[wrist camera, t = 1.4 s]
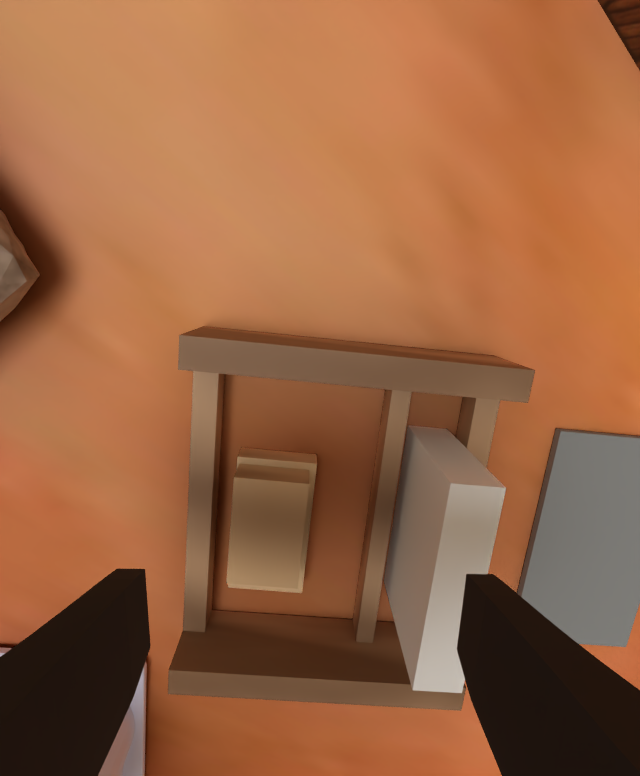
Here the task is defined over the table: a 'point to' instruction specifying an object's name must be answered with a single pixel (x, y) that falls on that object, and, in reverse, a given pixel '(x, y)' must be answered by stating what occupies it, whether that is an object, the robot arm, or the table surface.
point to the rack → (363, 633)
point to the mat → (587, 538)
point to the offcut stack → (270, 519)
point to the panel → (438, 550)
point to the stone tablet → (13, 269)
